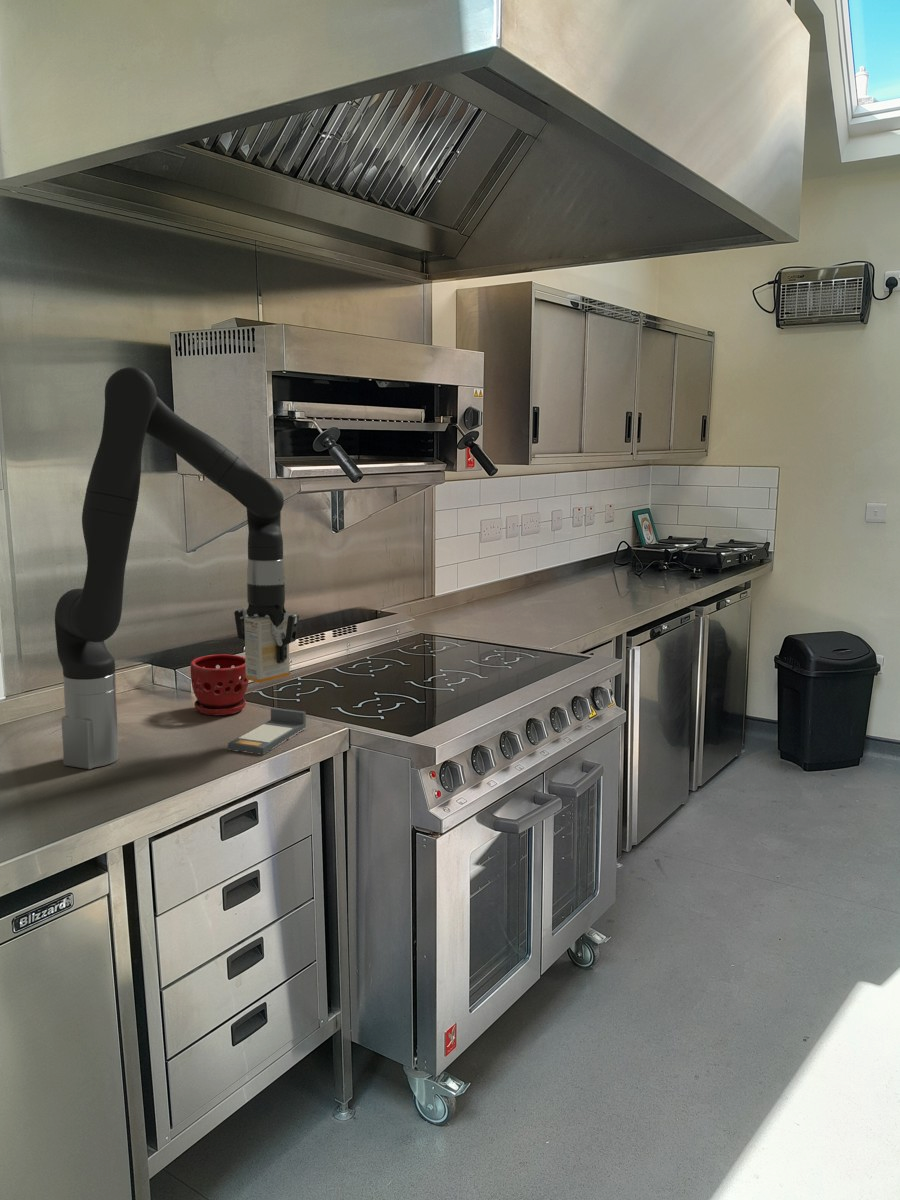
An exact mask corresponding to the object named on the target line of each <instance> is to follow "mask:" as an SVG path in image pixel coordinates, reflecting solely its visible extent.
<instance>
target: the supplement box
mask: <svg viewBox="0 0 900 1200" xmlns="http://www.w3.org/2000/svg"><path fill="white" fill-rule="evenodd" d="M244 620H245V640H244V649H245V650H244V651H245V652H244V653H245V654H244V658H245V663H246V679H248V680H249V681H252V682H256V683H259V684H261V683H264V682H267V681H272V680H276V679H280V678H283V677H284V678H285V677H287V676H290V674H291V673H290V643H289V644H287V659H286V660H285V662H283V663H281V664H280V663H277V646H278V644H277V641H276V639H275V637H274V636H273V635H272V633H271V626H272V625H271V623H270V620H268V619H265V617H259V618H257V617H253V616H252V617H249V616H248V617H246V618H244ZM282 626H283V627H284V628H285V634H286V630H287V623H286V620H285V618H284V620H283V621H282V623H281V624H280V625H279V626H278V627H277V630H281V629H282ZM280 635H281V634H280Z"/></svg>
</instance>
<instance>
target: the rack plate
mask: <svg viewBox="0 0 900 1200" xmlns="http://www.w3.org/2000/svg"><path fill="white" fill-rule="evenodd" d="M306 717H307V716H306V711H301V710H295V709H289V708H279V707H271V708H270V720H268V721H265V722H264V723H262V724H261V725H259V726H257V727H255V728H253V729H251V730H249V731H248V732H246V733H244V734H242V735H240V736H239V737H236V738H234V739H232V740H231V741H229V742H228V743H227V745H228V746H227V749H230V750H229V751H231V750H238V751H247V752H253V753H260V754H264V753H266V752H267V751H269V750H270V749H272V748H273V747H275V746H276V745H278V744H279V743H281V742H282V741H284V740H285V739H287V738H289V737H290V736H292V735H294V734H295V733H297V732H298V731H300V730H302V729H303V728H305V727H307V725H306V720H307V719H306ZM238 751H237V752H238ZM269 752H270V751H269ZM266 754H267V753H266ZM264 755H265V754H264Z"/></svg>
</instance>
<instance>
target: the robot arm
mask: <svg viewBox="0 0 900 1200" xmlns="http://www.w3.org/2000/svg"><path fill="white" fill-rule="evenodd" d="M104 386H105V387H104V412H103V413H104V414H103V424H102V425H103V426H102V431H101V438H100V441H99V445H98V449H97V451H96V454H95V457H94V460H93V464H92V467H91V469H90V470H91V471H90V474H89V478H88V481H87V486H86V488H85V489H86V490H85V496H84V501H83V506H82V513H81V514H82V515H81V527H82V528H81V529H82V535H83V539H84V544H85V550H86V556H87V560H86V561H87V567H86V572H85V573H86V574H85V578H84V584H83V588H74V589H70V590H68V591H67V592H65V593H63V594H62V595H61V597H60V598H59V599H58V601H57V603H56V606H55V611H54V626H55V627H54V629H55V641H56V651H57V657H58V660H59V662H60V664H61V666H62V675H63V695H64V697H63V698H64V699H63V700H64V715H63V716H62V717H61V734H62V735H61V736H62V752H63V753H62V758H63V766H66V767H67V766H68V767H74V768H79V769H85V770H91V769H94V768H98V767H99V768H100V767H104V766H108V765H110V764H113V763H115V762H117V760H118V759H119V735H118V732H119V731H118V712H117V711H118V709H117V707H118V705H117V685H116V681H117V680H116V678H117V677H116V663H115V658H114V657H113V655H112V654H111V653H110V652H109V650H108V648H107V646H106V643H105V641H106V640H107V641H108V639H109V638H111V637H112V636H113V635H114V633H115V632H116V631H117V629H118V627H119V625H120V622H121V618H122V611H123V599H124V598H123V597H124V586H125V585H124V583H125V572H126V566H127V559H128V557H129V556H128V554H129V549H130V544H131V538H132V537H131V536H132V531H133V526H134V522H135V517H136V512H137V507H138V501H139V495H140V485H141V474H142V473H141V472H142V457H143V456H142V455H143V453H142V452H143V447H144V443H145V442H144V441H145V437H146V434H147V435H149V436H151V437H152V438H153V439H156V440H158V441H159V442H160V443H161V444H163V445H164V446H166V447H167V448H169V449H170V450H171V451H172V452H174V453H175V454H176V455H178V456H179V457H180V458H181V459H183V460H184V461H185V462H186V463H188V464H189V466H190V465H191V466H192V468H194V469H195V471H198V472H199V473H200V474H201V475H203V476H205V478H207V479H208V480H209V481H211V482H212V483H214V484H215V485H216V486H217V487H219V488H220V489H221V490H224V491H225V492H227V493H229V494H230V495H231V497H233V498H234V499H236V500H237V501H238V502H239V503H240V504H241V505H242V506H244V507H245V508H246V517H247V519H246V520H247V529H248V533H247V534H248V536H247V567H246V587H247V588H246V589H247V590H246V591H247V593H246V594H247V595H246V597H247V598H246V599H247V604H248V606H247V609H245V608H240V609H237V610H235V611H234V613H233V614H234V619H235V620H234V621H235V626H236V633H237V637H238V639H239V640H244V641H245V620H244V618H246V617H252V616H253V617H257V618H259V617H265V619H268V620H270V623H271V625H272V626H271V633H272V635H273V636H274V637H275V639H276V641H277V644H278V646H277V663H280V664H281V663H283V662H285V660H286V659H287V644H289V645H290V644H291V643H294V642H295V641H296V640H297V634H298V627H299V618H300V615H299V614H298V613H289V612H287V611H286V608H285V602H286V588H285V587H286V581H285V580H286V576H285V574H286V572H285V564H284V540H283V534H282V531H281V518H282V517H281V513H282V509H283V508H284V503H285V501H284V500H285V499H284V496H283V493H282V491H281V489H280V488H279V487H278V486H276V485H275V484H273V483H272V482H270V481H269V480H268V479H267V478H265V477H264V476H262V475H261V474H259V473H258V472H256V471H255V470H253V469H252V468H251V467H249V466H248V465H247V463H246V462H245V461H244V460H243V459H242V458H240V457H239V456H238V455H237V454H236V453H234V452H233V451H231V450H230V449H229V448H227V446H225V445H224V444H222V443H221V442H219V441H218V440H216V439H215V438H214V437H212V436H210V435H209V434H208V433H206V432H204V431H202V430H200V429H199V428H197V427H195V426H194V425H192V424H190V423H189V422H188V421H186V420H184V418H181V417H180V416H179V415H178V414H177V413H175V412H174V411H173V410H172V409H171V408H170V407H169V406H167V405H166V403H164V402H163V400H162V399H161V398H160V397H158V393H157V389H156V385H155V383H154V381H153V379H152V378H151V377H150V376H149V375H148V374H147V372H145V371H144V370H141V369H140V368H136V367H129V366H128V367H124V368H120V369H118V370H117V371H115V372H114V373H112V374H111V375H110V376H109V377H108V379H107V381H106V383H105V385H104ZM284 618H285V620H286V623H287V630H286V634H285V628H284V627H283V626H282V629H281V630H277V627H278V626H279V625H280V624H281V623H282V621H283V620H284ZM280 634H281V635H280Z"/></svg>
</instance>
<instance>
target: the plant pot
mask: <svg viewBox="0 0 900 1200" xmlns="http://www.w3.org/2000/svg"><path fill="white" fill-rule="evenodd" d="M216 666H219V668H217V667H216ZM190 680H191V685H192V691H193V694H194V696H195V698H196V700H195V702H194V704H193V705H194V708H195V709H196V710H197V711H198V712H200V713H201V714H204V715H209V716H228V715H233V714H236V713H238V712H241V711H242V710H243V709H244V708H245V707H246V705H247V701H246V699H245V698H244V697H245V695H246V693H247V689H248V686H249V681H250V680H248V679H246V663H245V656H240V655H236V654H227V653H226V654H223V653H221V654H209V655H204V656H200V657H196V658H194V659H193V660H191V662H190Z"/></svg>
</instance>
